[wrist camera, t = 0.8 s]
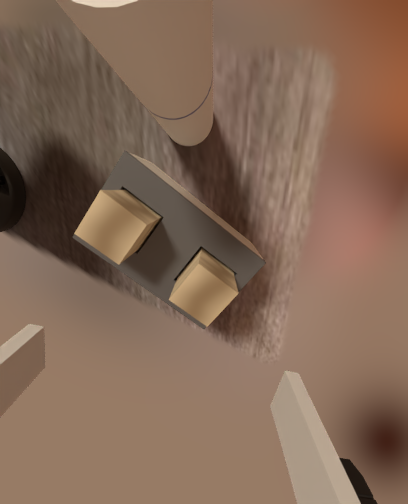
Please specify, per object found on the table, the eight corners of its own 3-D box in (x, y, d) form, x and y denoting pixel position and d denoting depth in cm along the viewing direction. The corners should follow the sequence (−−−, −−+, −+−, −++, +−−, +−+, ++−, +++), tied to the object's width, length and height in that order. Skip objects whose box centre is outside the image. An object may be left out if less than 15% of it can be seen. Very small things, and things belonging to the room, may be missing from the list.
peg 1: (112, 221, 28) (74, 233, 20) (133, 189, 27) (100, 190, 19) (144, 244, 29) (118, 264, 21) (165, 214, 27) (146, 224, 20)
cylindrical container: (192, 156, 32) (125, 58, 8) (153, 122, 31) (-62, -113, 7) (223, 114, 30) (263, -181, 6) (183, 76, 29) (41, -463, 5)
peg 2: (180, 270, 29) (168, 299, 22) (202, 243, 28) (198, 263, 21) (208, 291, 30) (207, 326, 22) (231, 265, 29) (238, 293, 21)
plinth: (110, 224, 35) (72, 237, 26) (151, 162, 32) (124, 150, 23) (206, 293, 38) (203, 329, 28) (251, 242, 35) (265, 262, 25)
